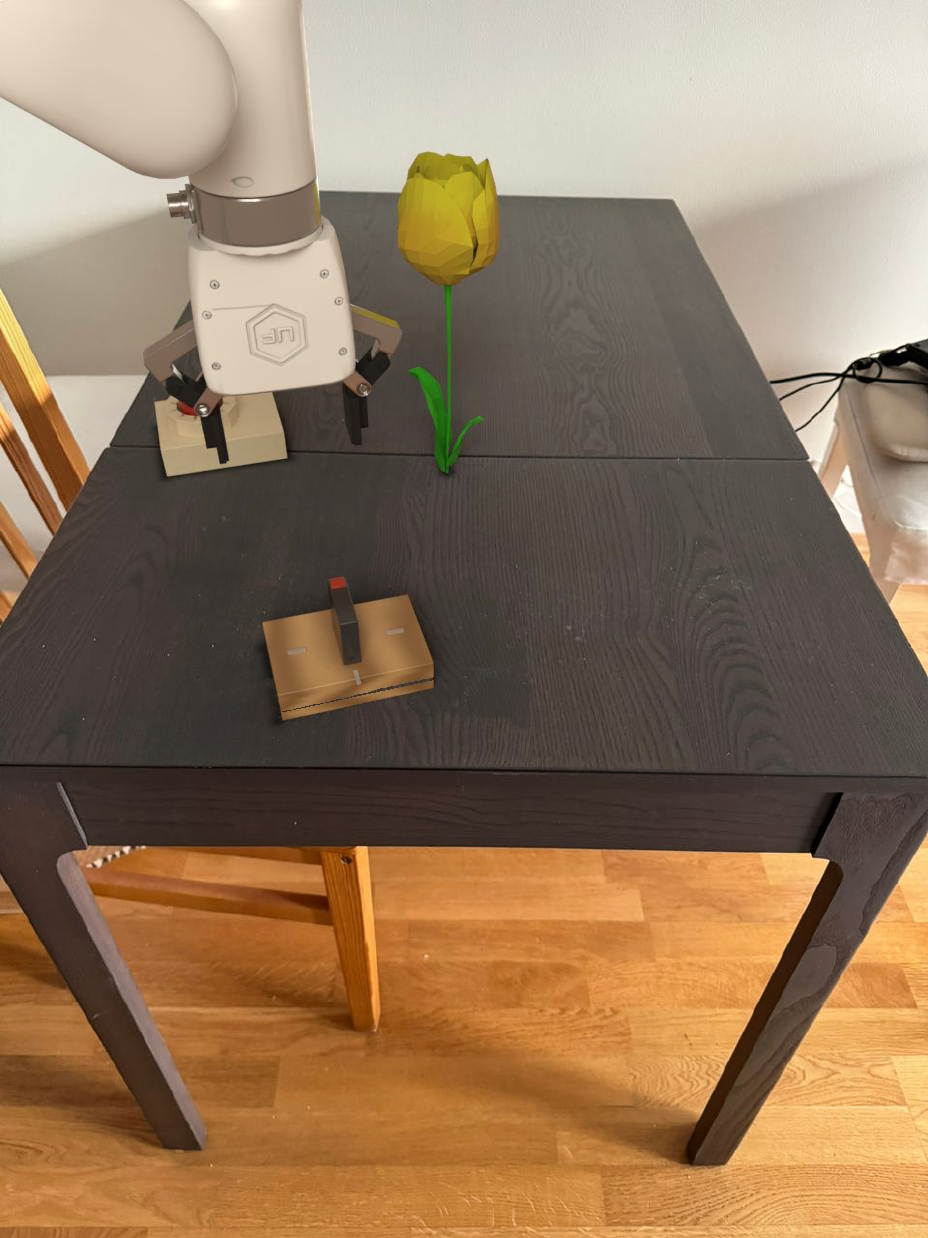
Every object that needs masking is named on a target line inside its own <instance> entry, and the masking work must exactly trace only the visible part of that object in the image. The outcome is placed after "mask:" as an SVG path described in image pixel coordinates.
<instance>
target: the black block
mask: <svg viewBox="0 0 928 1238" xmlns="http://www.w3.org/2000/svg"><path fill="white" fill-rule="evenodd" d="M326 583H327V590H328V599H329V601H328V602H329V608H330V610H331V619H332V624H333V628H334V632H335V635H336V639H337V643H338V646H339V650H340V654H341V657H342V661H343V665H350V664H355V663H360V662H361V649H360V637H359V624H358V619H357V615H356V612H355V609H354V605H355V604H354V602H353V599H352V596H351V592H350V589H349V586H348V582H347V579H346V577H344V576H339V577H333V578H329V579H328V580H327V581H326Z"/></svg>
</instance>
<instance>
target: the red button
mask: <svg viewBox="0 0 928 1238" xmlns="http://www.w3.org/2000/svg"><path fill="white" fill-rule="evenodd" d="M178 402H179V407H180V411H181V412H182V413H183V414H184V415H191V416H197V415H196V414H195V413H194V409H192V408H191V407H189V406H187V405H186V404H184V403H182V402H181V401H179V400H178ZM219 406H220V407H221V403H220V401H219Z"/></svg>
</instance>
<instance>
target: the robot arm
mask: <svg viewBox="0 0 928 1238" xmlns="http://www.w3.org/2000/svg"><path fill="white" fill-rule="evenodd" d="M306 37H307V36H306V25H305V14H304V7H303V0H0V98H1V99H3V100H5V102H8V103H9V104H12V105H13V106H15V107H17V108H19V109H21V110H22V111H24V112H25V113H28V114H30V115H31V116H33V117H34V118H37V119H38V120H40V121H42V122H44V123H45V124H47V125H50V126H51V127H53V128H54V129H56V130H58V131H59V132H62V133H64V134H65V135H67V136H69V137H71V138H72V139H74V140H76V141H78V142H80V143H81V144H83V145H84V146H87V147H88V148H90V149H92V150H94V151H95V152H97V153H99V154H101V155H103V156H104V157H106V158H108V159H110V160H111V161H113V162H115V163H117V164H118V165H120V166H121V167H123V168H124V169H125V168H126V169H127V170H129V171H131V172H134V173H135V174H139V175H141V176H144V177H149V178H154V179H158V180H169V179H170V180H176V179H179V178H185V177H188V181H189V183H184V189H178V192H169V193H166V199H167V200H166V201H167V205H168V206H167V207H168V211H169V216H170V218H171V219H172V218H183V219H184V220H189V219H190V221H191V225H192V226H191V227H190V229H189V230H188V236H187V251H186V264H187V266H186V267H187V278H188V288H189V289H188V292H189V298H190V306H191V313H192V314H191V315H192V319H190V320H188V321H187V322H185V323H184V324H182V325H181V326H179V327H178V328H176V329H175V330H173V331H172V332H170V333H168V334H166V335H165V336H163V337H162V338H161V339H159V340H158V341H155V342H154V343H152V344H151V345H149V346H148V347H146V348H145V349H144V350H143V353H142V355H143V365H144V367H145V368H146V369H147V370H148V371H149V373H150V374H151V375H152V376H153V377H154V379H156V380H157V382H158V383H160V384H161V385H162V386H163V387H164V388H165V391H166V393H167V394H168V395H169V396H173V397H174V398H176V399H178V400H179V401H181V402H182V403H184V404H186V405H187V406H189V407H191V408H192V409H194V413H195V414H196V415H197V416H199V417H200V419H201V424H202V429H203V434H204V439H205V443H206V448H207V449H210V448H217V453H218V458H219V463H220V464H226V463H227V461H229V456H228V450H227V444H226V438H225V433H224V428H223V422H222V417H221V412H220V406H219V401H220V400H221V398H222V397H223V395H224V396H243V395H252V394H261V393H269V392H272V393H277V392H284V391H286V392H287V391H293V390H300V389H301V390H302V389H309V388H315V387H323V386H329V385H334V384H338V383H341V389H342V390H341V391H342V402H343V412H344V413H343V414H344V415H343V416H344V424H345V428H346V430H347V433H348V436H349V440H350V443H351V445H354V446H362V445H363V436H362V429H366V428H369V427H370V426H369V410H368V409H369V408H368V407H369V406H368V396H370V394H371V393H372V392H373V391H372V390H373V385H374V384H375V383H376V382H377V381H378V380H379V379H380V378H381V377H382V375H384V374H385V372H386V371H388V369H389V367H390V366H391V359H392V357H393V356H394V355H395V354H396V351H397V349H398V348H399V345H400V343H401V341H402V340H403V336H404V334H403V330H402V328H401V326H400V324H399V322H398V321H396V320H394V319H391V318H389V317H386V316H383V315H381V314H378V313H375V312H373V311H370V310H368V309H366V308H362V307H360V306H357V305H354V304H351V301H350V295H349V288H348V280H347V275H346V270H345V264H344V260H343V256H342V255H343V254H342V251H341V247H340V246H341V245H340V242H339V239H338V235H337V233H336V229H335V227H334V226H333V224H332V223H331V222H330V219H328V218H327V217H326V216H324V215H322V211H321V201H320V190H319V189H320V187H319V177H318V165H317V153H316V144H315V143H316V141H315V131H314V120H313V119H314V118H313V108H312V98H311V97H312V95H311V94H312V93H311V85H310V84H311V83H310V73H309V72H310V71H309V61H308V50H307V38H306ZM354 331H355V332H357V333H360V334H362V335H366V336H368V337H371V338H374V339H375V341H374V344H373V345H372V346H371V347H369V349H368V350H367V352H365V354H364V355H363V356H362V357H361V358H360V359H359V360H358V359H357V358H356V345H355V334H354ZM196 348H197V352H198V358H199V363H200V367H201V371H200V373H199V374H198V375H197V377H196V378H195V379H194V378H193V377H191V376H189V375H188V374H186V373H185V372H183V371H181V370H180V369H178V368H177V367H176V366H175V364H174V363H175V362H176V361H178V360H179V359H181V358H182V357H184V356H186V355H187V354H188V353H190V352H191V351H193V350H195V349H196Z"/></svg>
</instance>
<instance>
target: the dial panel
mask: <svg viewBox="0 0 928 1238" xmlns="http://www.w3.org/2000/svg"><path fill="white" fill-rule="evenodd" d="M353 605H354V609H355V612H356V615H357V619H358V624H359V637H360V649H361V662H360V663H355V664H350V665H343V661H342V657H341V654H340V650H339V646H338V643H337V639H336V635H335V632H334V628H333V624H332V619H331V610H330V609H325V610H319V611H315V612H309V613H303V614H299V615H293V616H288V617H283V618H282V617H281V618H278V619H271V620H267V621H262V623H261V624H262V629H263V634H264V641H265V646H266V650H267V654H268V659H269V664H270V669H271V675H272V679H273V683H274V687H275V693H276V697H277V701H278V707H279V711H280V716H281V720H282V721H287V720H293V719H297V718H301V717H306V716H311V715H315V714H319V713H326V712H328V711H329V712H330V711H334V710H339V709H343V708H348V707H352V706H357V705H362V704H367V703H371V702H375V701H381V700H385V699H390V698H394V697H399V696H404V695H408V694H412V693H417V692H421V691H426V690H427V691H428V690H432V689H434V687H435V686H434V685H435V681H434V680H435V679H434V680H432V681H427V682H423V683H418V684H413V685H409V686H404V687H399V688H394V689H390V690H385V691H380V692H376V693H371V694H366V695H362V696H357V697H352V698H348V699H344V698H347V697H351V696H354V695H357V694H363V693H368V692H371V691H374V690H377V689H380V688H387V687H390V686H396V685H399V684H405V683H408V682H414V681H420V680H423V679H429V678H433V677H435V676H434V675H435V674H434V673H435V670H434V669H435V666H434V665H435V663H434V660H433V657H432V655H431V652H430V649H429V647H428V645H427V641H426V638H425V636H424V633H423V631H422V629H421V625H420V623H419V620H418V617H417V615H416V613H415V609H414V608H413V607H414V606H413V605H412V602H411V600H410V597H409V594H402V595H398V596H392V597H387V598H381V599H377V600H371V601H368V602H362V603H356V604H353ZM276 691H277V692H276ZM336 699H343V700H338V701H334V702H329V701H332V700H336ZM325 702H329V703H325ZM320 703H324V704H320ZM313 704H320V705H315V706H310V707H306V708H301V707H305V706H309V705H313ZM279 705H280V706H279ZM296 708H301V709H296ZM293 709H296V710H293ZM286 710H292V711H287V712H282V711H286Z"/></svg>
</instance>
